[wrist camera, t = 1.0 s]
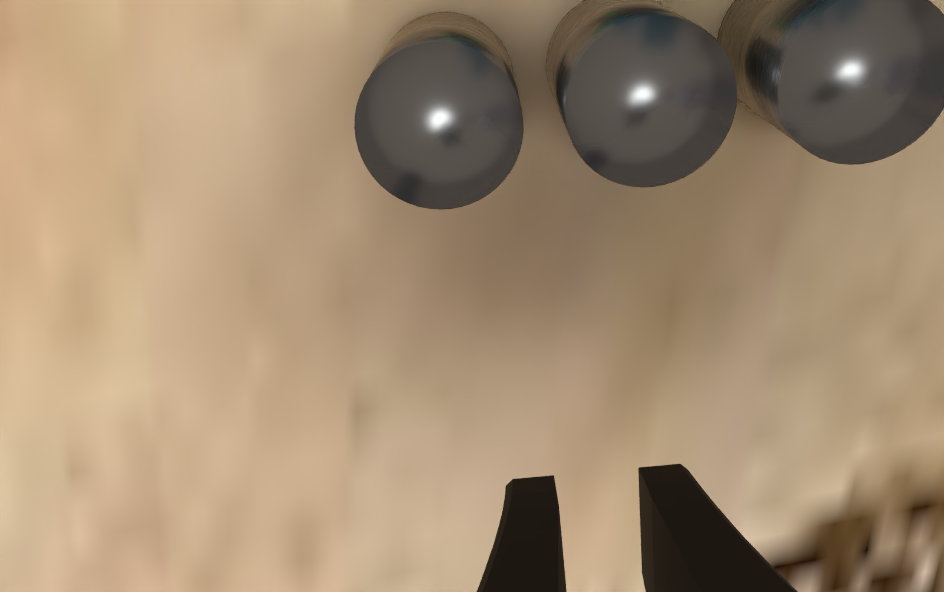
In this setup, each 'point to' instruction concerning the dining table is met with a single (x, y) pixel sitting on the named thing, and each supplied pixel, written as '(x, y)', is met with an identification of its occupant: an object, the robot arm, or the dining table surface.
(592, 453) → the dining table surface
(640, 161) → the spacer field
